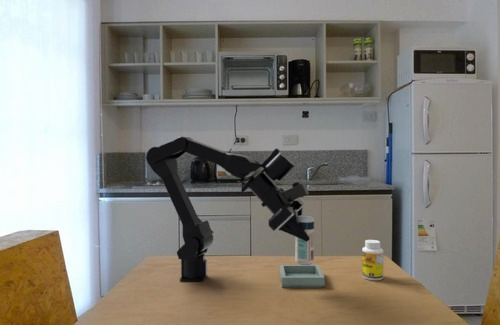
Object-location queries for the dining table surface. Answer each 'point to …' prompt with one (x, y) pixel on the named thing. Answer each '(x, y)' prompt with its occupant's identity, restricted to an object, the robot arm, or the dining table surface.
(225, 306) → the dining table surface
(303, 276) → the dish
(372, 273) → the supplement bottle
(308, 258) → the beer can
